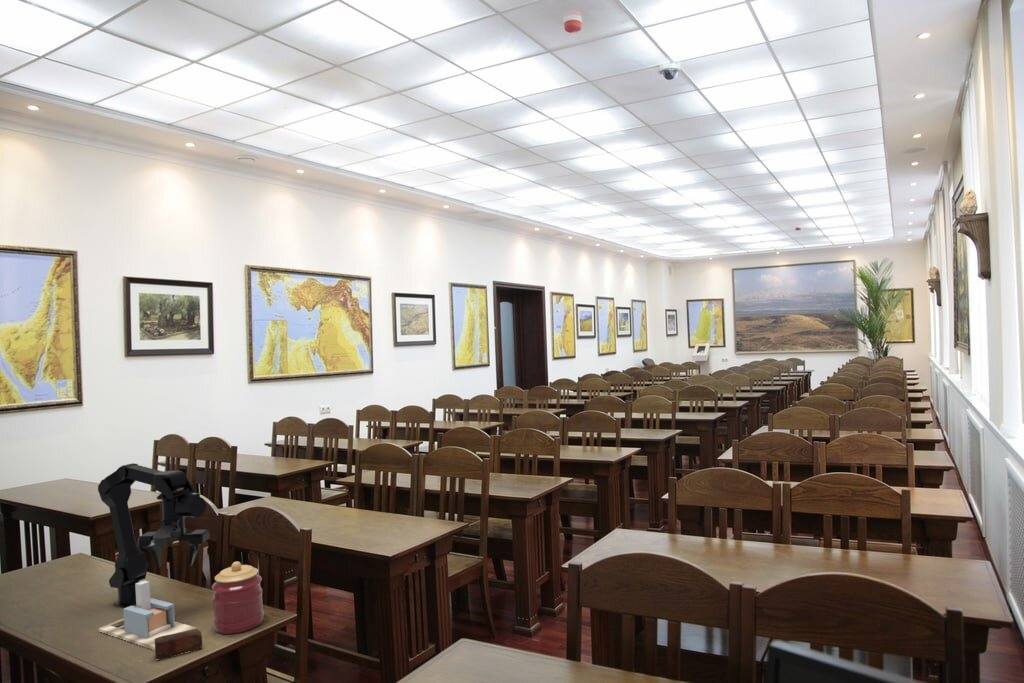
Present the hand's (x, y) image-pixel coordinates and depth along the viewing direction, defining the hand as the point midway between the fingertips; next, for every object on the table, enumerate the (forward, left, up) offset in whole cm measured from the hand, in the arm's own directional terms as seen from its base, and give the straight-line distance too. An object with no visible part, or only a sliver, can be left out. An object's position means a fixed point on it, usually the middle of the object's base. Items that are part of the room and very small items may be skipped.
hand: (175, 566), depth 195 cm
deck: (+5, -13, -13) cm, 19 cm away
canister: (+26, +1, -14) cm, 30 cm away
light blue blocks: (+7, -13, -13) cm, 20 cm away
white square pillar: (+7, -13, -12) cm, 19 cm away
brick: (+26, -16, -14) cm, 34 cm away
